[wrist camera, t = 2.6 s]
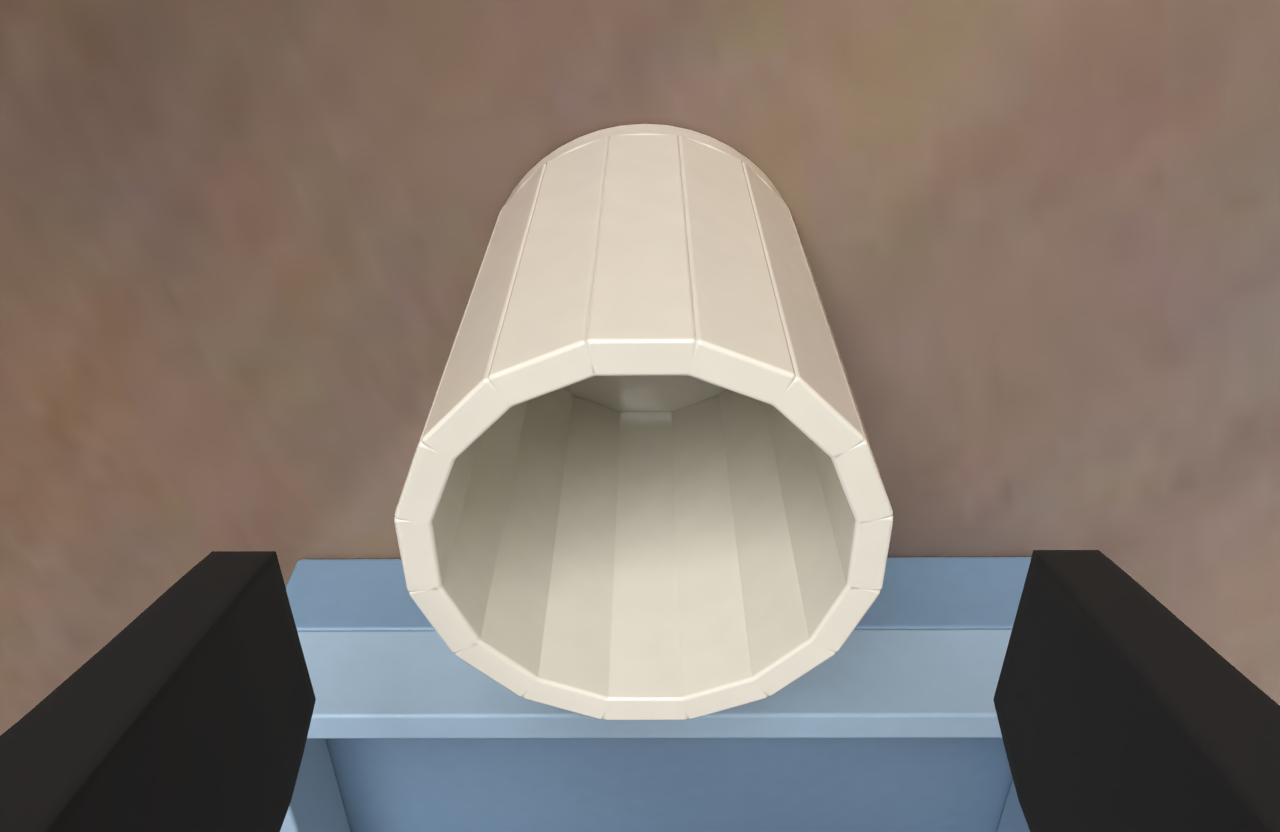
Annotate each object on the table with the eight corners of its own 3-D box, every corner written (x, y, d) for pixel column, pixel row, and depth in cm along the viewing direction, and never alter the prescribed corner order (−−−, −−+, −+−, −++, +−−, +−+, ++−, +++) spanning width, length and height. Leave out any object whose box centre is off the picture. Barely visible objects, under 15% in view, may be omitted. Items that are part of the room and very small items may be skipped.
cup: (502, 412, 18) (430, 722, 12) (473, 123, 15) (359, 342, 9) (790, 411, 18) (861, 722, 12) (815, 120, 15) (925, 338, 9)
